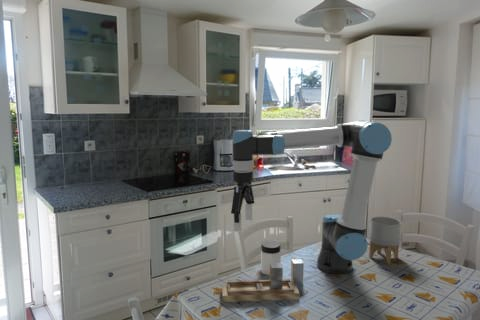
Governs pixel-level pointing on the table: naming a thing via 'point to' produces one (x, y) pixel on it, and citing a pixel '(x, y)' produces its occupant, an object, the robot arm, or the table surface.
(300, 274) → the grey rectangular prism
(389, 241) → the planter
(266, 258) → the jar
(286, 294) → the light wooden long frame
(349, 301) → the table surface
